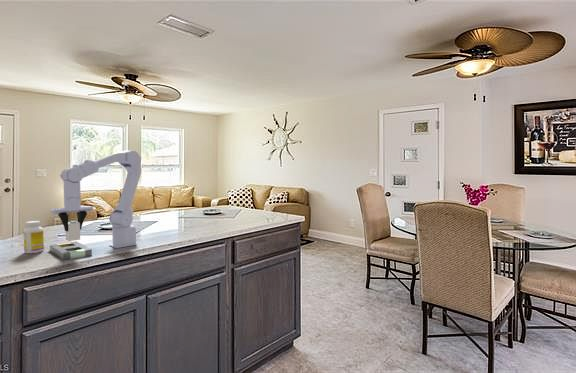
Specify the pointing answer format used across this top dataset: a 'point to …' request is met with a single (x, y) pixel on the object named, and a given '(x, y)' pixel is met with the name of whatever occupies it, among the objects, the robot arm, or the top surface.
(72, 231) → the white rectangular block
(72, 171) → the robot arm
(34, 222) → the supplement bottle
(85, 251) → the panel
